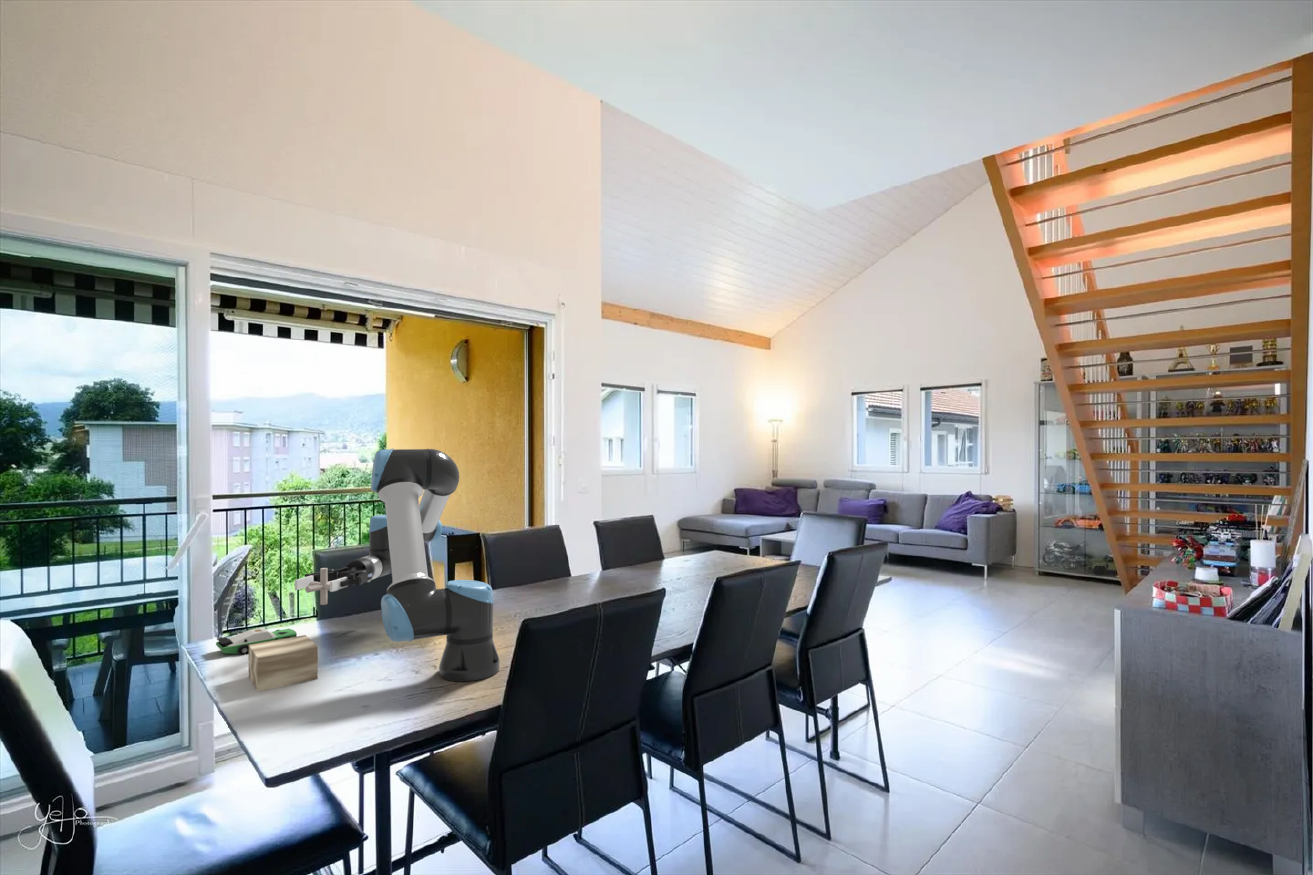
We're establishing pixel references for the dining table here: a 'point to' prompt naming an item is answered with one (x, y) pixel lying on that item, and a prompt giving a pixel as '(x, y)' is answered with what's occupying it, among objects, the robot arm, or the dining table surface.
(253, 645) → the birch block
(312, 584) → the pipe connector
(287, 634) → the toy car
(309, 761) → the dining table surface
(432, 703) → the dining table surface
